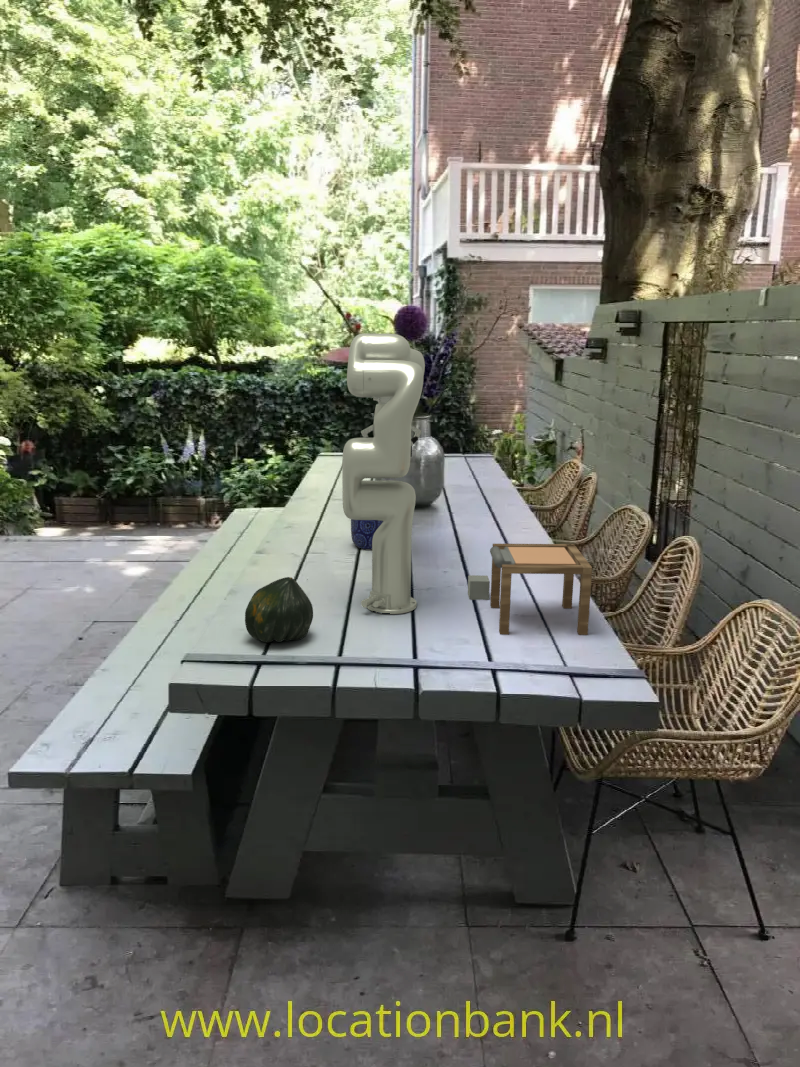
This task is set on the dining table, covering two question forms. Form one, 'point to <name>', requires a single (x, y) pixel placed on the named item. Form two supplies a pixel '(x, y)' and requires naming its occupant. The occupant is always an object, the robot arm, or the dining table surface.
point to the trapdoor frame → (567, 570)
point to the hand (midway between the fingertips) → (391, 459)
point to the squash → (279, 612)
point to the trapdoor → (531, 556)
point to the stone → (478, 587)
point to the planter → (364, 532)
